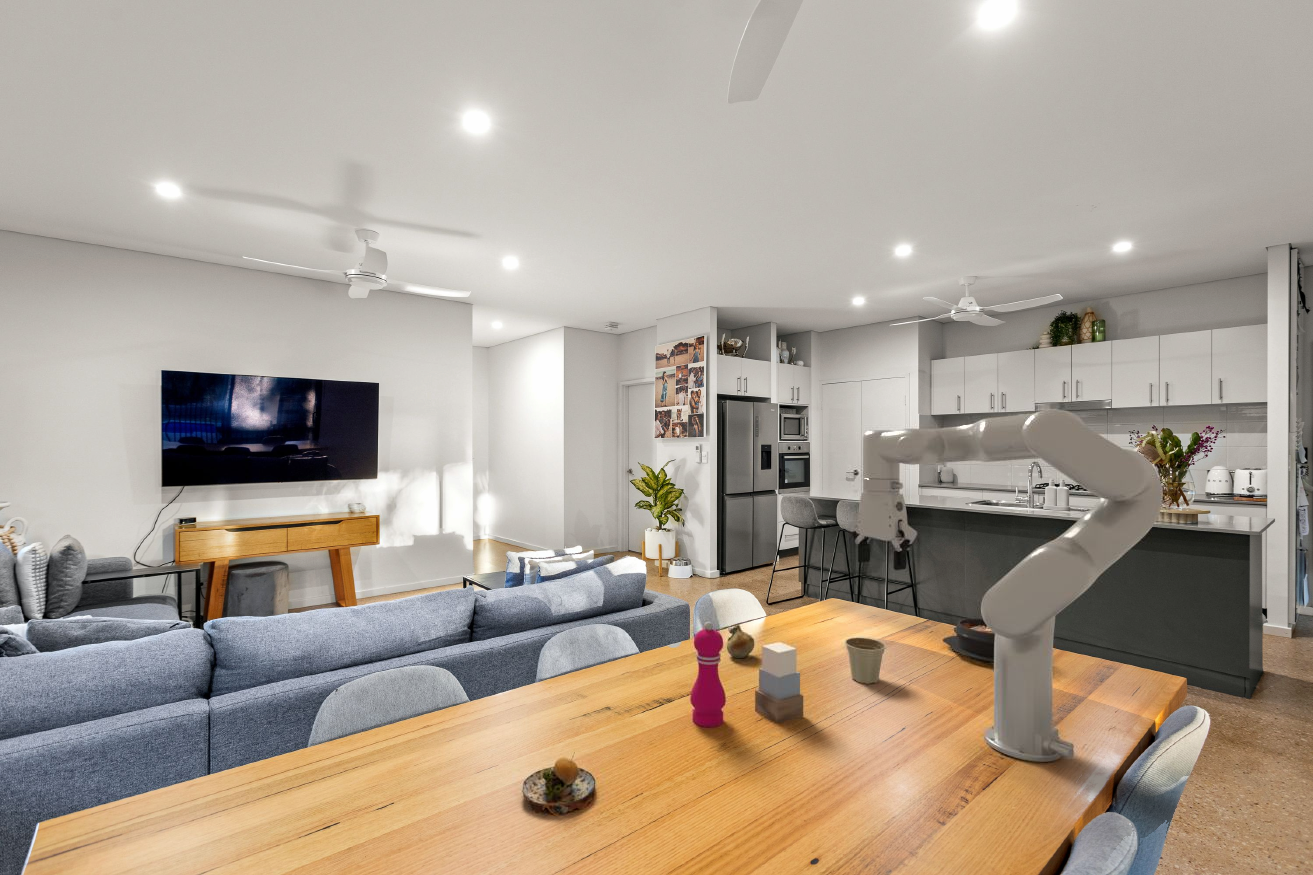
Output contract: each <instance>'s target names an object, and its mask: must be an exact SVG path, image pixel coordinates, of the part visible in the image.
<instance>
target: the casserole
mask: <svg viewBox="0 0 1313 875" xmlns="http://www.w3.org/2000/svg"><path fill="white" fill-rule="evenodd" d="M953 632H954V633H955V634H956V635H949V636H947V637H944V638H942V642H943V643H945V644H946V645H948V646H949V647H950V648H951V649H952V650H953V651H955V652H956V653H958V654H960V655H963V656H966V657H968V658H969V659H972V660H975V661H978V662H982V663H985V664H986V663H987V664H993V665H994V642H995V633H994V632H993V631H992V630H991V629H990V628H989V627H988V626H987V625H986V623H985V622H984V620H983V618H964V619H960V620H958V621H957V624H956V626H955V627H954V628H953Z"/></svg>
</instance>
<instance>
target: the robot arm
mask: <svg viewBox="0 0 1313 875" xmlns="http://www.w3.org/2000/svg"><path fill="white" fill-rule="evenodd" d="M1033 459H1034V460H1035V459H1037V460H1038V459H1041V460H1042V461H1043V462H1045V463H1047V464H1048V465H1049V466H1051V467H1052V468H1054V469H1055V470H1057V471H1058V472H1060V473H1061V474H1063V475H1064V476H1066V477H1067V478H1068V479H1070V480H1071V481H1073V482H1075V483H1076V484H1078V485H1079V486H1080V487H1082V488H1083V489H1085V490H1086V491H1088V492H1089V493H1091V494H1093V495H1094V496H1096V497H1098V498H1099V500H1098V501H1097V503H1096V504H1094V506H1093V507H1092V508H1090V509H1089V510H1088V511H1087V512H1086V513H1084V514H1083V515H1082V516H1081V517H1079V519H1078V520H1076V522H1075V523H1074V524H1073V525H1071V526H1070V527H1069V528H1068V529H1067V530H1066V531H1064V532H1063V533H1062V534H1061V535H1059V536H1058V537H1056V538H1055V539H1053V540H1051V541H1049V542H1046V543H1045V544H1042V545H1041V546H1038V547H1036V548H1035V549H1034V550H1033V551H1032V552H1031V553H1029V554H1028V555H1027V556H1026V557H1024V558H1023V559H1022V560H1021V561H1020V562H1019V563H1017V564H1016V565H1015V567H1013V568H1012V569H1011V570H1010V571H1009V572H1008V573H1006V574H1005V575H1004V576H1003V577H1002V578H1001V579H1000V580H999V581H998V582H996V583H995V584H994V585H992V586H991V587H990V588H989V589H988V590H987V592H985V594H984V596H983V597H982V599H981V600H982V601H981V603H980V612H981V613H980V614H981V616H982V619H983V620H984V622H985V623H986V625H987V626H988V627H989V628H990V629H991V630H992V631H993V632H994V633H995V642H994V664H993V726H990V727H987V728H986V729H985V730H984V741H985V742H986V744H988V745H989V746H990V747H991V748H992V749H994V750H996V751H998V752H1000V753H1002V754H1003V755H1005V756H1006V755H1007V756H1009V757H1011V758H1015V759H1020V760H1022V761H1029V762H1037V763H1038V762H1039V763H1045V762H1046V763H1047V762H1055V761H1058V760H1059V759H1060V758H1062V757H1063V758H1066V759H1069V760H1072V759H1073V758H1074V754H1075V750H1074V748H1075V747H1074V744H1073V743H1072V742H1069V741H1067V740H1063V739H1061V737H1060V736H1059V728H1056V727H1054V726H1053V666H1054V665H1053V663H1054V662H1053V660H1054V656H1053V653H1054V636H1055V624H1056V616H1057V615H1058V614H1059V613H1061V612H1062V611H1063V610H1064V609H1066V607H1068V606H1070V605H1071V604H1072V603H1073V602H1074V601H1076V600H1077V599H1078V598H1079V597H1080V596H1081V595H1082V594H1084V593H1085V592H1086V591H1088V589H1089V588H1090V587H1091V586H1092V585H1093V584H1094V583H1095V582H1096V581H1097V579H1098V578H1099V577H1100V575H1102V574H1103V573H1104V572H1105V571H1106V570H1108V569H1109V568H1110V567H1111V566H1113V564H1115V563H1116V562H1117V561H1118V560H1119V559H1121V558H1122V557H1123V556H1124V555H1125V554H1126V553H1127V552H1128V551H1130V550H1131V549H1132V548H1133V547H1134V546H1135V545H1136V544H1138V542H1140V541H1141V540H1142V539H1143V538H1144V537H1145V536H1146V535H1147V534H1148V532H1150V530H1151V529H1152V528H1153V526H1154V525H1155V523H1156V521H1157V519H1158V518H1159V515H1160V512H1161V510H1162V505H1163V500H1164V499H1163V498H1164V497H1163V496H1164V495H1163V488H1162V482H1161V479H1160V477H1159V475H1158V472H1157V470H1156V469H1155V467H1154V465H1153V463H1151V461H1150V460H1149V459H1148V458H1147V457H1145V455H1143V454H1141V453H1140V452H1138V451H1135V450H1131V449H1125V448H1122V447H1120V446H1118V444H1115V443H1113V442H1112V441H1111V440H1108V438H1105V437H1104V436H1102V435H1101V434H1099V433H1097V432H1096V431H1094V430H1092V429H1091V428H1089V427H1088V426H1086V424H1085V423H1084V421H1083V420H1082V418H1081V417H1080V416H1079V415H1077V414H1076V413H1074V412H1071V411H1068V410H1063V409H1059V408H1046V409H1042V410H1039V411H1036V412H1034V413H1027V414H1026V413H1024V414H1016V415H1007V416H998V417H987V418H982V419H980V420H978V421H976V422H975V423H971V424H967V425H960V426H951V427H942V428H929V429H927V428H906V429H905V428H904V429H897V430H889V429H888V430H887V429H886V430H885V429H880V430H879V429H876V430H875V429H874V430H867V431H866V432H864V433H863V436H862V492H861V495H860V498H859V503H858V504H859V505H858V512H857V513H858V517H857V518H856V519H854V520H852V521H851V522H849V524H848V526H849V528H850V532H851V535H852V538H853V539H854V540H855V541H854V542H855V544H856V545H857V563H860V564H862V563H868V562H869V563H870V561H871V545H870V543H868V542H870V540H871V539H873V540H874V539H876V540H882V541H887V542H888V541H889V542H891V543H892V545H893V547H894V548H895V550H893V570H895V571H901V570H906V569H907V551H909V550H910V547H911V546H912V545H914V543H915V539H916V538H917V535H918V531H917V530H915V529H914V528H913V527H911V526H910V525H909V524H908V514H907V507H906V502H905V497H904V494H903V493H900V492H901V491H900V490H902V489H903V487H904V484H903V483H902V482H900V471H901V470H900V464H902V465H903V464H904V465H914V466H915V465H930V464H931V465H933V464H942V463H943V464H945V463H957V462H975V461H976V462H984V463H991V462H992V463H994V462H1006V461H1008V462H1010V461H1020V460H1021V461H1023V460H1033Z"/></svg>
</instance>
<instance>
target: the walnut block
mask: <svg viewBox="0 0 1313 875" xmlns="http://www.w3.org/2000/svg"><path fill="white" fill-rule="evenodd" d="M754 693H755V694H754V712H756V713H758V714H759V715H761V716H763V717H764V718H767V719H768V720H770V721H772V722H774V723H775V724H781V723H785V722H789V721H793V720H796V719H799V718H802V717H804V695H803V694H801V693H800V694H799V695H796V696H792V697H788V698H784V699H780V700H777V699H775V698H773V697H771V696H769V695H767V694H766V693H764V692H762V691H760V690H759V689H755V691H754Z"/></svg>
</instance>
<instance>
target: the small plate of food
mask: <svg viewBox="0 0 1313 875" xmlns="http://www.w3.org/2000/svg"><path fill="white" fill-rule="evenodd" d="M575 754H576V753H575V752H574V753H573V755H572V757H571V758H570V757H565V756H562V757H559V758H558V759H556V761H555V762H554V765H553V766H552V767H551V766H550V767H547V768H542V769H539V770H537V771H535V772H533V773H532V774H531V775H529V776H528V777H527V778H525V780H524V781H523V784H522V791H521V793H522V797H523V798H524V799H525V800H527V801H528V802H529V805H530V809H531V810H530V811H531V812H532V811H534V813H536V814H537V813H538V814H541V815H543V814H544V810H545V808H547V809H548V811H549V812H550V814H553V815H554V816H560V815H566V813H567V812H569V811H570V812H572V811H573V810H574V809H577V810H579V811H580V810H582V809H584V808H586V807H587V805H588V803H590V804H591V803H592V802H593V801H594V799H595V798H596V794H597V790H596V783H597V782H596V779H595V777H594V776H593V774H592V773H591V772H589V771H588V770H586V769H584V768H581V767H579V766H578V765H577V763H576V762H575V761H574V760H573V758H574V756H575Z"/></svg>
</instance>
